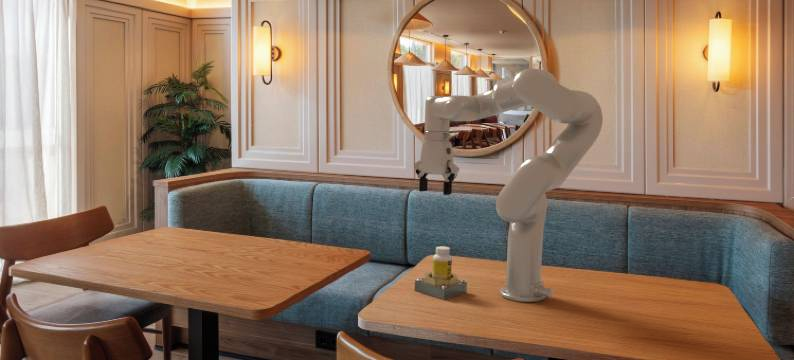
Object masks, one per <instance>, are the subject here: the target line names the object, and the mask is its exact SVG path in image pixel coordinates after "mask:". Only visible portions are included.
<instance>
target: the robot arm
mask: <svg viewBox="0 0 794 360" xmlns="http://www.w3.org/2000/svg"><path fill="white" fill-rule="evenodd" d="M424 105H425V107H424V108H425V109H424V135H423V137H424V140H423V141H422V144H421V145H422V146H421V150H420V159H419V160H418V161H416V162H414V163H413V167H414V170H415V172H414V173H416V175H417V178H418V179H419V183H418V184H419V185H418V186H419V189H418V190H419V192H427V191H428V183H429V182H428V181H429V180H428V178H427V177H428V176H429V175H438V176H442V177H443V179H444V181H443V185H442V186H443V188H442V189H443V191H442V192H443V194H442V195H443V196H449V195H452V190H453V182H454V181H455V179H457V176H458V174H459V171H460V167H458V165H456V164H455V163H454V152H453V144H452V141H450V139H452V134H450V124H451V122H473V121H478V120H482V119H486V118H490V117H494V116H497V115H499V114H503V113H506V112H509V111H513V110H516V109H519V108H524V107H528V106H530V107H531V108H533V109H534V110H536V111H538V112H540V113H541V114H543V115H545V116H546V117H547V118H550V119H551V120H553V121H555V122H557V123H560V124H567V126H566V127H565V128H564V130H562V131H561V132H560V133H559V135H557V136H556V138H555V139H554V140H553V142H552V144H551V145H550V146H549V148H548V149H546V151H545V152H543V153H542V154H540V155H533V156H531V157H529V158H528V159H527V158H526V160H524V161H523V162H522V163H520V166H518V167H517V169H516V170H515V172H514V173H513V175H511V177H510V179H508V181H507V182H506V183H505V185H504V187H503V188H502V189H501V190H500V192H499V193H498V195H497V197H496V199H495V209H496V212H497V214H498V216H499V217H500V219H502V220H503V221H505V222H508V223H509V226H508V232H507V233H508V234H507V250H506V251H507V254H506V255H507V256H506V271H505V272H506V273H505V275H506V277H505V286H502V287H501V288H500V290H499V294H500V295H501V296H502V297H503V298H505V299H507V300H510V301H516V302H522V303H532V302H533V303H534V302H541V301H542V300H544V299H546V298H551V296H552V295H553V288H551V287H546V286H545V281H544V280H543V281H542V280H541V279H542V278H541V277H542V262H543V261H542V260H543V259H542V257H543V244H544V243H543V242H544V228H545V221H546V215H547V211H548V200H547V195H546V192H548V191H552V190H554V189H557V188H559V187H561V186H562V185H563V184H564V183H565V181H566V180H567V179H568V177H569V176H570V174H571V173H572V172H573V171H574V170H575V168H576V167H577V166H578V164H579V163H581V161H582V159H583V157H584V156H585V155H586V154H587V153H588V151H589V150H590V149H591V148H592V146H593V145H594V143H596V141H597V139H598V137H599V136H600V133H601V131H602V127H603V119H604V118H603V117H604V116H603V112H602V108H601V105H600V103H599V102H598V100H597V99H596V98H595V97H594V96H593V95H592V94H590V93H588V92H586V91H582V90H575V89H569V88H567V87H565V86H564V85H562V84H560V83H558V80H557V78H556V77H555V76H554V74H553V73H551V71H548V70H545V69H541V68H540V69H539V68H532V67H531V68H530V67H529V68H525V69H522V70H521V71H519V73H517V74H516V75H515V76H514V77H511V78H508V79H504V80H500V81H497V82H496V83H495V84H494V86H493V89H491V90H488V91H486V92H482V93H479V94H475V95H457V94H456V95H449V96H448V95H447V96H445V95H444V96H442V95H438V96H437V95H434V96H433V95H430V96H427V98H425V103H424Z"/></svg>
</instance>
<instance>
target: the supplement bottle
mask: <svg viewBox="0 0 794 360" xmlns="http://www.w3.org/2000/svg"><path fill="white" fill-rule="evenodd" d="M450 253H451V249H450V247H448V246H444V245H443V246H442V245H441V246H436V247H435V254H434V255H433V257H432V271H431V272H432V278H434V279H451V273H452V265H453V264H452V262H453V258H452V256H451V254H450Z"/></svg>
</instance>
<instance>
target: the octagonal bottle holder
mask: <svg viewBox="0 0 794 360" xmlns="http://www.w3.org/2000/svg"><path fill="white" fill-rule="evenodd" d="M467 289H468V282H467V281H465V280H464V279H463V280H462V279H461V280H460V279H458V276H457V273H456V274H455V273H452V272H451V279H434V278H432V271H430V272H427V273H425V274H424V277H422V278H416V280H414V291H415V292H418V293H421V294H425V295H427V296H431V297H435V298H438V299H441V300H443V301H444V300H449V299H451V298H454V297H457V296H461V295H463V294H466V293H468V292H467V291H468V290H467Z"/></svg>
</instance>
